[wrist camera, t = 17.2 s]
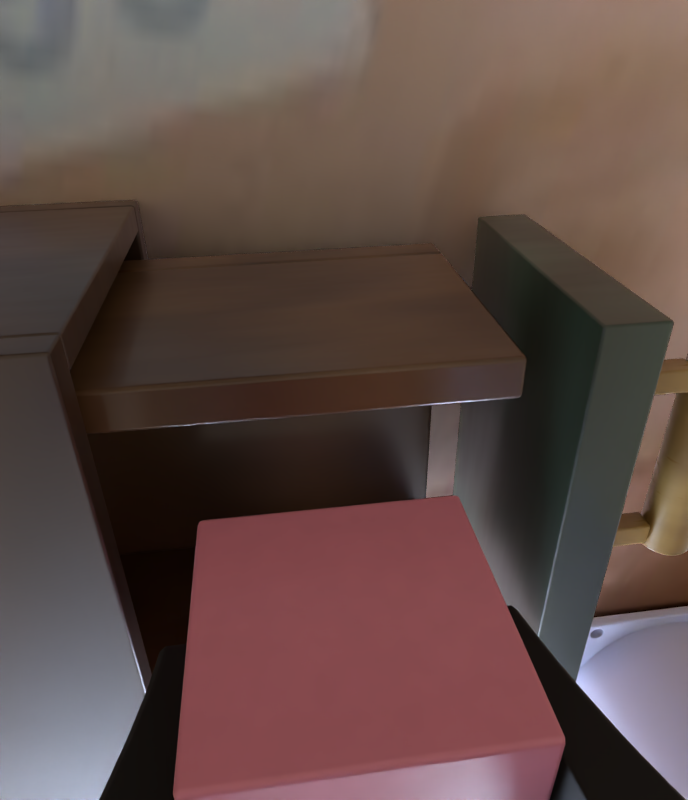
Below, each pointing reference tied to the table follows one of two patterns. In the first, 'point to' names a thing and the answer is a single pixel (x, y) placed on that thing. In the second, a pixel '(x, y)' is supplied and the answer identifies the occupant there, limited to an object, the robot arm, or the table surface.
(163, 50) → the table surface
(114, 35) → the table surface
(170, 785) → the robot arm
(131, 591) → the drawer
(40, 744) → the cabinet
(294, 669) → the block
